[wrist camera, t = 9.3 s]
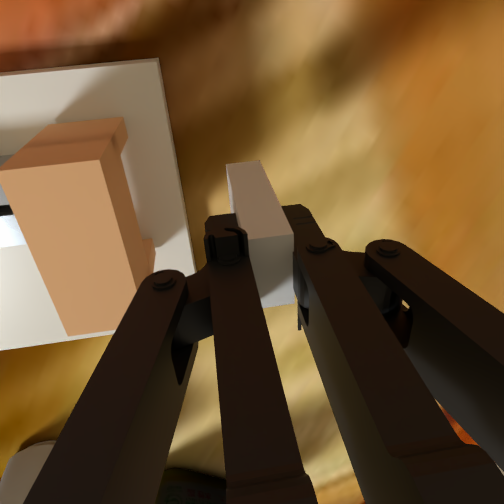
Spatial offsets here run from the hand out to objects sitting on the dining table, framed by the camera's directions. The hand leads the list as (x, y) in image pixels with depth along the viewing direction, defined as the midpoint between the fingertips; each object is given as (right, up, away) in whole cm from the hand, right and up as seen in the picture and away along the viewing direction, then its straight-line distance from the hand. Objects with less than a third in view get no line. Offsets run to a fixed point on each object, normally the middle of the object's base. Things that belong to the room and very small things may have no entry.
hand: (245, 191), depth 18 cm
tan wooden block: (-7, 0, +3) cm, 8 cm away
